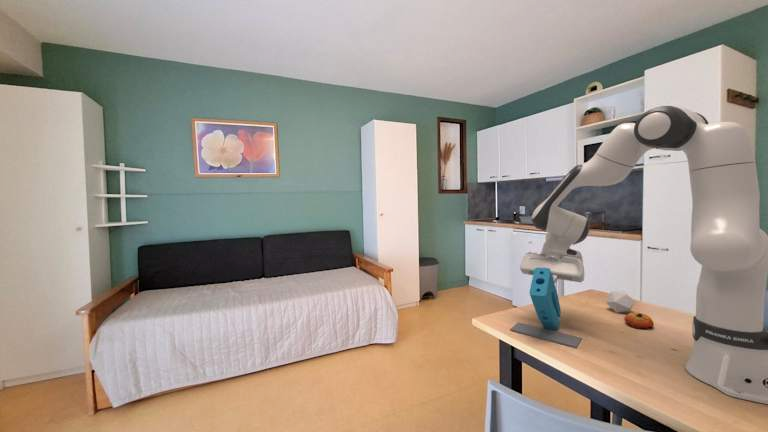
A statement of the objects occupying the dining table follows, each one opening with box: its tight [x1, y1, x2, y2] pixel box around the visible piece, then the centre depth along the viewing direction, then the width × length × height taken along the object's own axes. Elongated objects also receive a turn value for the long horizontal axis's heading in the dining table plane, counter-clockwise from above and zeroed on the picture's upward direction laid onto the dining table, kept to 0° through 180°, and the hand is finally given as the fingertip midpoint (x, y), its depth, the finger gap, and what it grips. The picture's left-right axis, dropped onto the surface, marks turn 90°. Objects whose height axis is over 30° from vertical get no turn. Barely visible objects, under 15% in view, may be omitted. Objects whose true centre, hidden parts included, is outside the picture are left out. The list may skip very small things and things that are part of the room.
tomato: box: [624, 311, 655, 329], centre depth 108 cm, size 8×7×7 cm
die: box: [605, 290, 636, 314], centre depth 122 cm, size 8×9×10 cm
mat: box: [509, 321, 583, 349], centre depth 102 cm, size 20×8×1 cm, turn 48°
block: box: [529, 268, 562, 331], centre depth 105 cm, size 12×5×20 cm
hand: (546, 286), depth 105 cm, fingers closed, pressing on block
